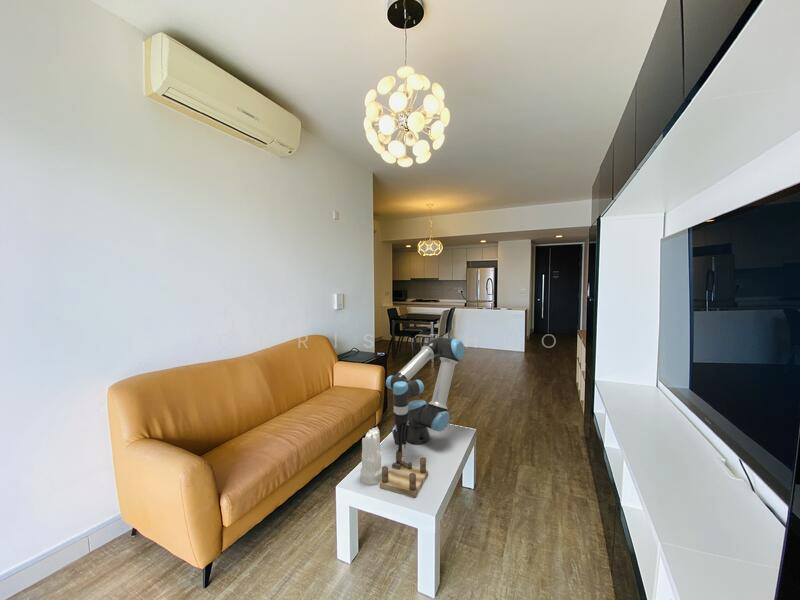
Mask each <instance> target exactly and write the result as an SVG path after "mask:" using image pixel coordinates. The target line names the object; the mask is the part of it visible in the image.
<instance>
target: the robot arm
mask: <svg viewBox="0 0 800 600" xmlns="http://www.w3.org/2000/svg"><path fill="white" fill-rule="evenodd" d="M465 351H466V350H465V345H464V343H463V341H462V340H459V339H456V338H451V337H450V338H448V337H442V336H439V337H435V338H432V339H431V340H429V341H428V342H426V343H425V344H424V345H423V346H421V349H420V351H419V352H418V353H417V354H416V355H415V356H414V357H413V358H411V360H409V362H408V363H406V365H405V366H403V367H402V368H401V369H400V370H399V371H398V372H397V373H396V374H395V375H389V376H388V377H387V378H386V380H385V386H386V387H387V388H388V389H389V390H392V394H393V395H392V396H393V420H394V424H393V425H394V427H393V428H391V429H390V432H391V433H392V437H393V441H394V445H396V446H397V448H398V449H397V450H399V451H400V452H401V451H402V458H404V457H406V456H405V454H406V453H405V452H406V451H405V449H406V444H407V443H408V444H411V445H418V446H419V445H423V444H427V443H428V442H429V441H430V436H431V435H430V432H429V430H428V429H431V430H432V431H436V432H442V431H445V429H446V428H447V427H448V425H449V422H450V419H451V417H450V413H449V412H448V410H449V409H448V407H447V401H448V398H449V397H448V396H449V393H450V388H451V384H452V380H453V375H454V371H455V367H456V365H458V364H459V361H460V360H463V358H464V357H465ZM434 357H439V359H440V365H439V370H438V373H437V378H436V381H435V386H434V389H433V393H432V394H433V395H432V397H431V401H429V402H428V404H427V401H426V400H424V399H416V400H415V399H414V400H411V401H409V399H411V398H413V397H416V396H418V395H421V394H422V393H423V392H424V390H425V386H424V383H423V382H422V380H420V379H415V380H411V379H412V378H413V377H414V376H415V375H416V374H417V373H418V372H419V371H420V370H421V369H422V368H423V367H424V366H425V364H427V362H429V361H430V360H432V359H434Z"/></svg>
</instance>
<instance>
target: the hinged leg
mask: <svg viewBox="0 0 800 600" xmlns="http://www.w3.org/2000/svg"><path fill="white" fill-rule="evenodd" d="M395 462H396V464H400V465H402V466H405V467H407V468H409V469H411V468H412V466H413V463H412V461H410V462H409V461H408V462H406V461H403V457H402V451H401V452H400V451H399V450H398V449H397V450H396V451H395Z"/></svg>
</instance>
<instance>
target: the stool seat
mask: <svg viewBox="0 0 800 600" xmlns="http://www.w3.org/2000/svg"><path fill="white" fill-rule="evenodd" d="M428 477H429V469H427V458H426V457H424V456H421V457H420V458H419V467H418V466H417V467H416V466H414V465H412V468H411V469H409V468H407V467H405V466H402V465H400V464H396V461H395V462H392V463H391V468H390V469H389V467H388V466H386V465H383V466H382V480H381V481H380V482H379V488H380V489H382V490H385V491H386V490H387V491H390V492H393V493H397V494H401V495H405V496H408V497H412V498H416V497H417V496H418V494H419V492H420V490H421V489H422V487H423V485H424V483H425V481H426V480H427V478H428Z"/></svg>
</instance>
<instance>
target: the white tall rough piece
mask: <svg viewBox="0 0 800 600" xmlns="http://www.w3.org/2000/svg"><path fill="white" fill-rule="evenodd" d="M380 437H381V436H380V429H379V427H378V426H376V427H373V428H371V429H368V431H367V432H366V434H365V437H362V440H361V446H362V447H361V449H362V451H361V468H360V482H361V483H362V484H364V485H367V486H375V485H377V484H380V481H381V480H382V467H383V466H382V455H381V449H380V448H381V438H380Z"/></svg>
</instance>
